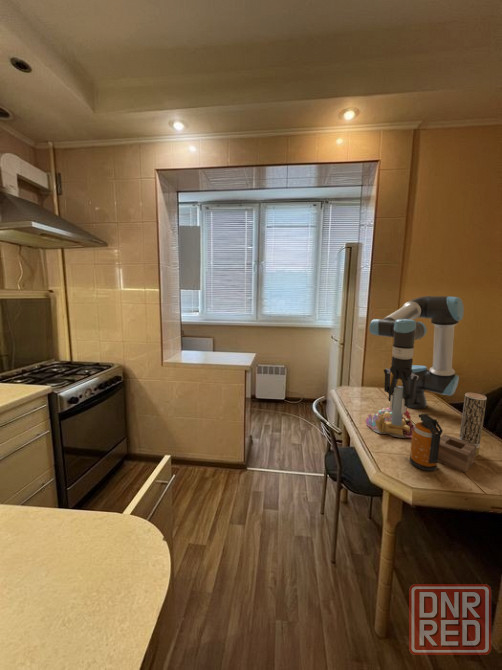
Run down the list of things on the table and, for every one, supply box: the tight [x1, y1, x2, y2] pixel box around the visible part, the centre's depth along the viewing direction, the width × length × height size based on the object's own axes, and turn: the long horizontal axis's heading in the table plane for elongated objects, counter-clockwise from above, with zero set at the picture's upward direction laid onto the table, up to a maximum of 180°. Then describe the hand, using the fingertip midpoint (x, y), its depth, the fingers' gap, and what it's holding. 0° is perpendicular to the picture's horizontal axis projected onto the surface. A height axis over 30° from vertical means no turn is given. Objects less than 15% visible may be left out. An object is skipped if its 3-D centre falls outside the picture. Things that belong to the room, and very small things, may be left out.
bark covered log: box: [458, 392, 487, 458], centre depth 115 cm, size 7×7×25 cm
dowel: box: [391, 385, 404, 426], centre depth 118 cm, size 4×4×16 cm
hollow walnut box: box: [438, 433, 477, 473], centre depth 111 cm, size 11×11×7 cm
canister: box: [409, 413, 444, 472], centre depth 106 cm, size 9×11×20 cm
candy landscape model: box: [365, 406, 416, 439], centre depth 139 cm, size 25×24×9 cm
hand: (397, 410), depth 118 cm, fingers closed on dowel, 4 cm apart
